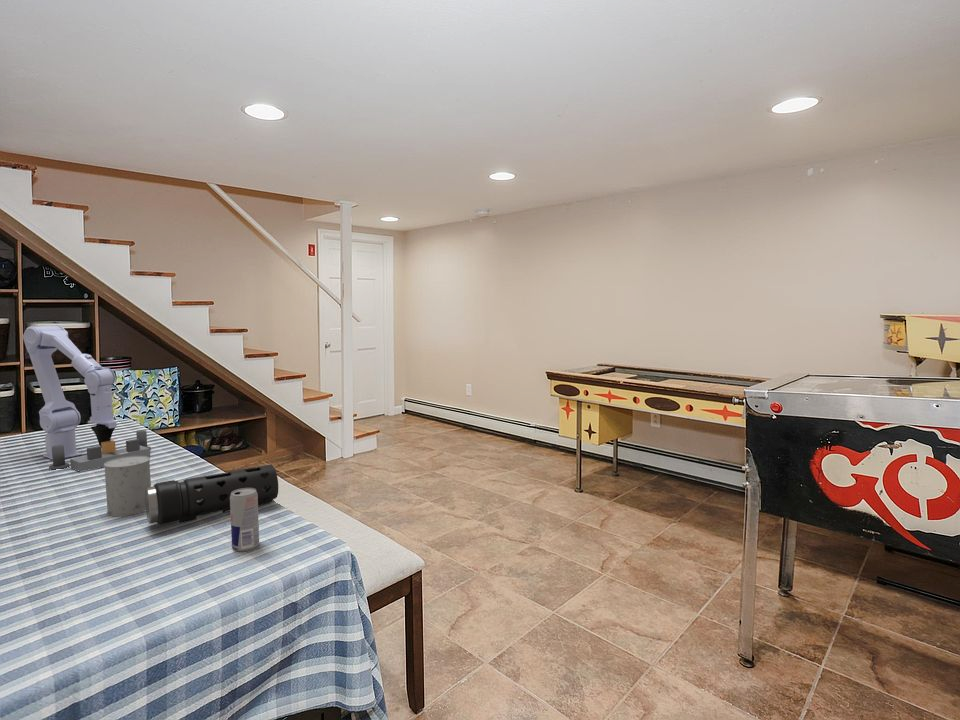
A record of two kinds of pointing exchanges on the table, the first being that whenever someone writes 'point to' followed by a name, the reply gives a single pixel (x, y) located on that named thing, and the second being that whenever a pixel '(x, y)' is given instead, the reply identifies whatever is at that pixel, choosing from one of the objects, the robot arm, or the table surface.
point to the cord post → (142, 438)
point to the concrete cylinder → (127, 485)
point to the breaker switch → (108, 446)
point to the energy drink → (244, 519)
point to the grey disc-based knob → (58, 458)
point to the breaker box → (108, 455)
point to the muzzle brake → (206, 494)
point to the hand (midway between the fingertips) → (104, 446)
